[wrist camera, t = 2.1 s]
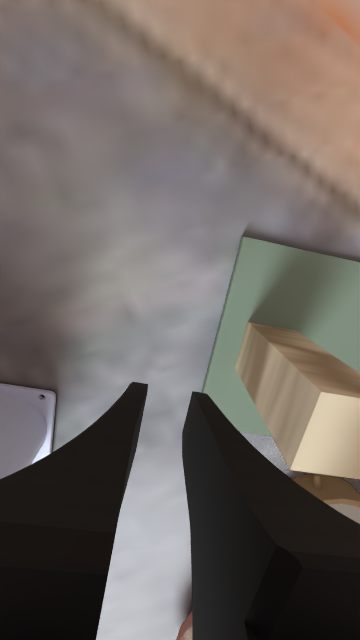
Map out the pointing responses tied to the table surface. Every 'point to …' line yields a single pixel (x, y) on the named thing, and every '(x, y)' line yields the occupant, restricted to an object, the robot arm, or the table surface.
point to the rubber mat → (282, 316)
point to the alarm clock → (333, 493)
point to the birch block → (303, 399)
